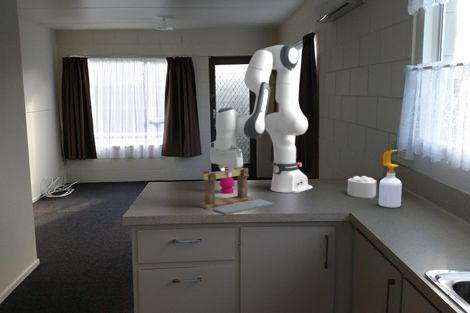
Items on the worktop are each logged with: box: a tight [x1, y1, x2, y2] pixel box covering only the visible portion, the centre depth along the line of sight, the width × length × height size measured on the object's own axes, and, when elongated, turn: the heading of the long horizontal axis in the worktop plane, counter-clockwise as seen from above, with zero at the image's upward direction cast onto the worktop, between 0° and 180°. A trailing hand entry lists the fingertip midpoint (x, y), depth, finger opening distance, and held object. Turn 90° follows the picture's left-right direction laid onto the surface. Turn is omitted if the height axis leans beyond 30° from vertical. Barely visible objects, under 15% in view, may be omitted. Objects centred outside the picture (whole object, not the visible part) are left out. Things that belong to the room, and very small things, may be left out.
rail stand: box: [198, 167, 254, 210], centre depth 194 cm, size 25×7×15 cm, turn 128°
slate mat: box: [212, 198, 274, 216], centre depth 187 cm, size 26×9×1 cm, turn 128°
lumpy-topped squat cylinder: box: [346, 175, 377, 199], centre depth 209 cm, size 10×13×9 cm
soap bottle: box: [378, 149, 403, 209], centre depth 188 cm, size 9×9×25 cm
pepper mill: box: [219, 166, 235, 195], centre depth 215 cm, size 7×7×20 cm
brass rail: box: [204, 167, 245, 181], centre depth 193 cm, size 22×3×2 cm, turn 128°
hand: (226, 175), depth 193 cm, fingers closed on brass rail, 3 cm apart
